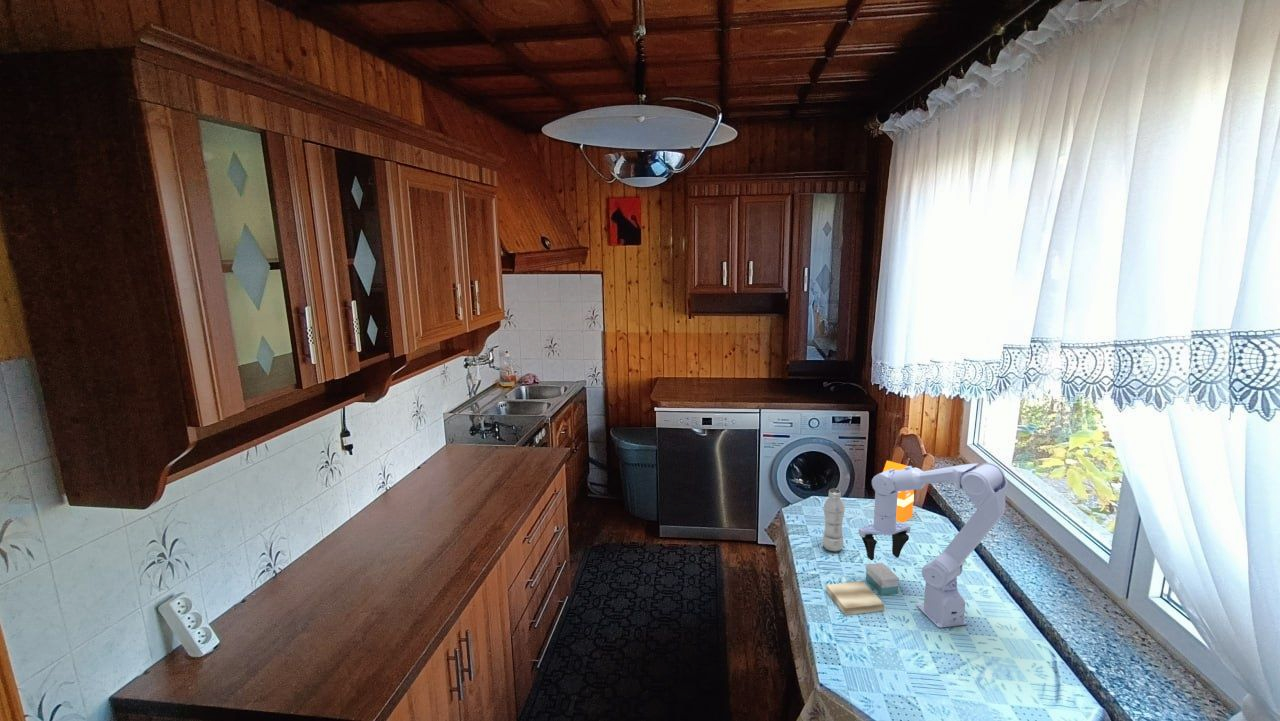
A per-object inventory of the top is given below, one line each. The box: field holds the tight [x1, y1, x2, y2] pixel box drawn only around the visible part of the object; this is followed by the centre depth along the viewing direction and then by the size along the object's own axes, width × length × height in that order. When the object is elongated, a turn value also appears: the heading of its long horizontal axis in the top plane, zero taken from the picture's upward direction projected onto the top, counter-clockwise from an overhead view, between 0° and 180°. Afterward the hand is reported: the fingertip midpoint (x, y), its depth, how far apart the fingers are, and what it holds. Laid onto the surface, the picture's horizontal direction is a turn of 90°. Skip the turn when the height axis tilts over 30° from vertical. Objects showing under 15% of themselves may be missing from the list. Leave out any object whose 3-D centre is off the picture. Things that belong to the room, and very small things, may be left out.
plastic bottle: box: [822, 488, 846, 553], centre depth 179 cm, size 6×7×20 cm
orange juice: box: [882, 460, 915, 524], centre depth 200 cm, size 8×9×20 cm
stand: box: [825, 580, 885, 616], centre depth 153 cm, size 11×11×2 cm
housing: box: [865, 562, 899, 596], centre depth 159 cm, size 8×5×5 cm, turn 8°
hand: (882, 557), depth 158 cm, fingers open, 7 cm apart
